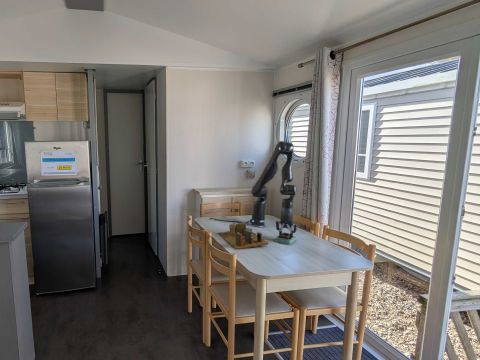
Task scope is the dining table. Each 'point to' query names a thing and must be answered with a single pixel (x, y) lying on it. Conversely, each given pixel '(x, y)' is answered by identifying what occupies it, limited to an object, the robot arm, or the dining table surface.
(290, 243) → the holder
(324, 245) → the dining table surface
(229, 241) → the brown tray with blocks
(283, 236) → the frame
